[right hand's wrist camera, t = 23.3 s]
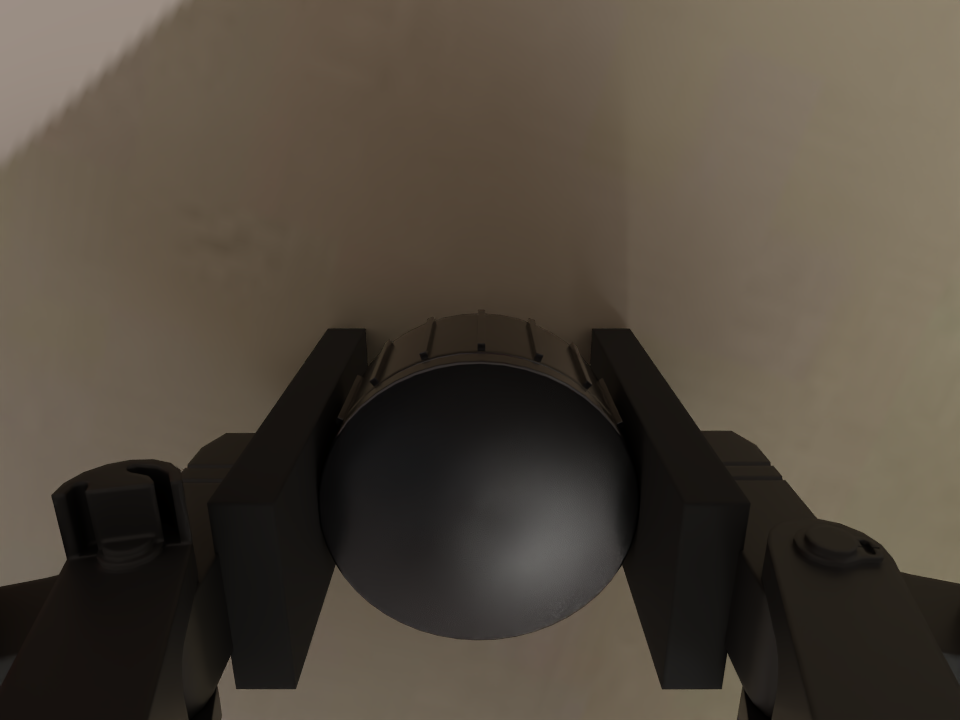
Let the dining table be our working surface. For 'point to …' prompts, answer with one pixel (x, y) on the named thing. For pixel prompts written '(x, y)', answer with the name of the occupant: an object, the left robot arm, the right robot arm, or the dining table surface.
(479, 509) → the lid
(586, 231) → the dining table surface
